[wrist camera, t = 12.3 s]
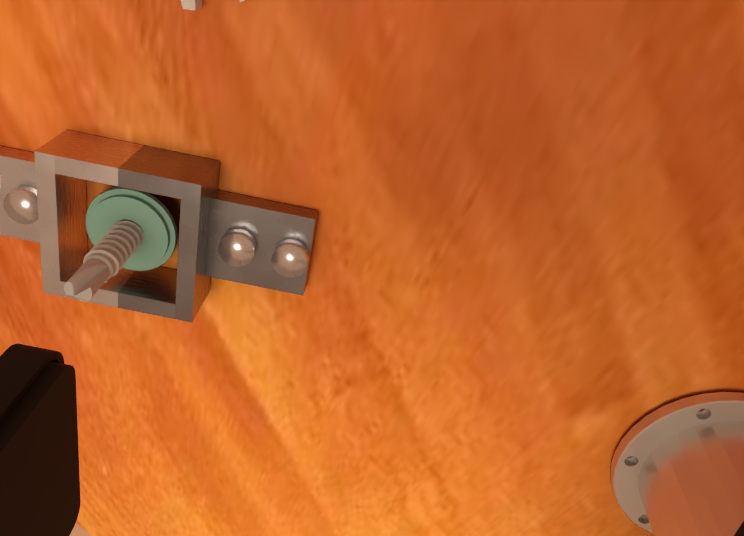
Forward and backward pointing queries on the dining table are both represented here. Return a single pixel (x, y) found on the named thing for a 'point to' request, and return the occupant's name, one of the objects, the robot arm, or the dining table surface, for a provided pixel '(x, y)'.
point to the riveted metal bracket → (196, 230)
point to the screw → (123, 238)
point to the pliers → (193, 4)
